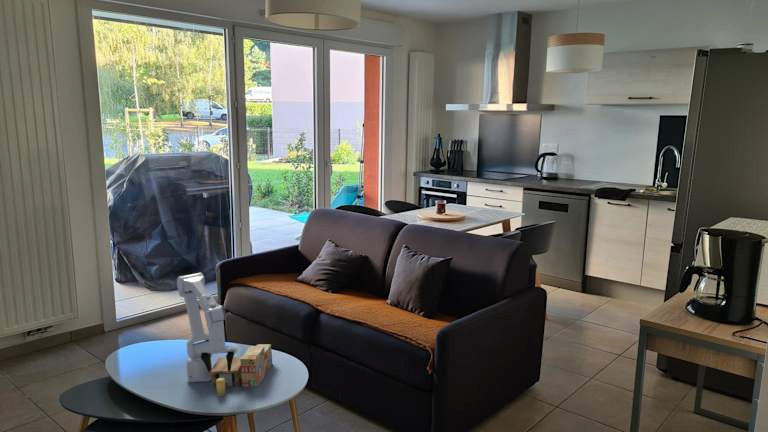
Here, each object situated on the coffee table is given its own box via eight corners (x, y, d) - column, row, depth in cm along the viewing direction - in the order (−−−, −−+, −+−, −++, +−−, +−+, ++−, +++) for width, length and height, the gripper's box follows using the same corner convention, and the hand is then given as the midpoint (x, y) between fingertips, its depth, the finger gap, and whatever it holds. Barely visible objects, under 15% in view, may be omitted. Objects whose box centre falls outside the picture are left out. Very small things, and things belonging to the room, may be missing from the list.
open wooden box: (211, 387, 215) (210, 371, 214) (220, 373, 228) (218, 357, 227) (238, 386, 215) (237, 370, 214) (246, 372, 228) (244, 356, 227)
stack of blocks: (258, 363, 236) (257, 337, 234) (272, 364, 236) (271, 337, 234) (242, 387, 215) (239, 358, 213) (257, 387, 215) (255, 358, 213)
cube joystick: (213, 396, 208) (212, 381, 207) (223, 380, 222) (222, 366, 221) (226, 395, 208) (225, 381, 207) (235, 379, 222) (234, 366, 221)
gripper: (194, 342, 202) (197, 375, 204) (233, 340, 202) (235, 374, 204) (200, 335, 209) (203, 367, 211) (237, 333, 209) (240, 366, 211)
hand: (219, 370), depth 208 cm, fingers open, 7 cm apart
